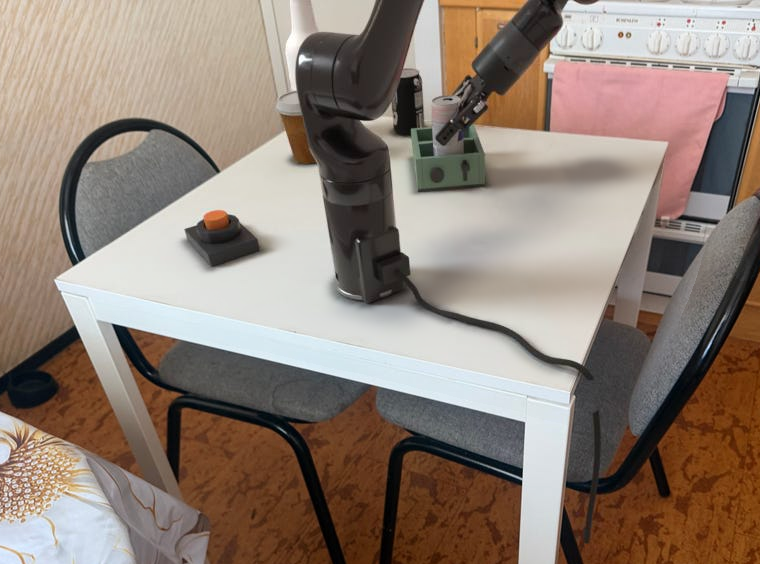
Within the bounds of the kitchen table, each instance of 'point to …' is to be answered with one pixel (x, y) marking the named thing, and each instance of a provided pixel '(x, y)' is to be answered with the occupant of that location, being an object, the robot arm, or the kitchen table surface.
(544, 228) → the kitchen table surface
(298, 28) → the alcohol
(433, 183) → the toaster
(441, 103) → the energy drink
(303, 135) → the disposable coffee cup
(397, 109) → the beverage can
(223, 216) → the button
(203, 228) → the control box
